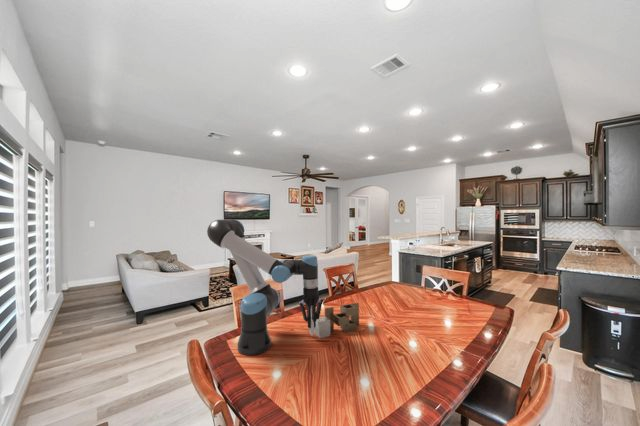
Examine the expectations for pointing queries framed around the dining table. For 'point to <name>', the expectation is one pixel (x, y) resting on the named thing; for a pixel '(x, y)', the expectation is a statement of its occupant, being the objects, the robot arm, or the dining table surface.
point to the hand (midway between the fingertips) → (311, 334)
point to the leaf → (329, 322)
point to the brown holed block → (354, 313)
